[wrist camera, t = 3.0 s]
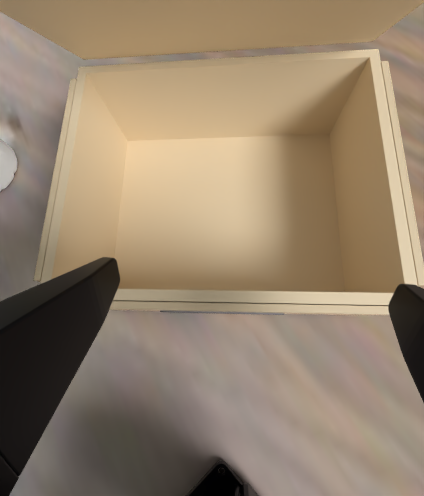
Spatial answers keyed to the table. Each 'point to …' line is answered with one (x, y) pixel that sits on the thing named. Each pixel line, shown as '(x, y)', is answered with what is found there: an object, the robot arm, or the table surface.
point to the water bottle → (7, 164)
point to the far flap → (203, 24)
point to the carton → (236, 185)
